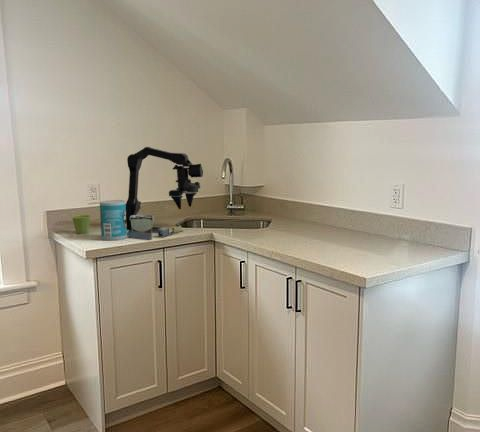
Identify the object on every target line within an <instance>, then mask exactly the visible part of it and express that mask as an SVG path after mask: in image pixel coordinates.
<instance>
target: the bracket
mask: <svg viewBox="0 0 480 432" xmlns="http://www.w3.org/2000/svg"><path fill="white" fill-rule="evenodd" d="M161 228H168V233H170V227H164V226H154V225H152V235H151V233H144V232H135V231H132V229H131V230H127V238H131V239H138V240H139V239H140V240H145V241H146V240H148V241H151V240H153V239H152V237H153V234H158V229H161Z"/></svg>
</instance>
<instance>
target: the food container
mask: <svg viewBox="0 0 480 432" xmlns="http://www.w3.org/2000/svg"><path fill="white" fill-rule="evenodd" d="M129 220H131V227H132V231H135V232H144V233H151V235H152V236H153V232H152V226H154V225H153V222H154V221H155V217H154V215H152V214H136V215H132V216H130V219H129Z"/></svg>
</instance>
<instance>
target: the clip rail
mask: <svg viewBox="0 0 480 432" xmlns="http://www.w3.org/2000/svg"><path fill="white" fill-rule="evenodd" d="M168 228H169V227H166V228H161V229H158V233H157V238H161V239H163V238H166V237H170V236H173V235H177V234H180V232H181V233H184V230H181V231H179V232H176V233H172V231H169V233H168Z"/></svg>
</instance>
